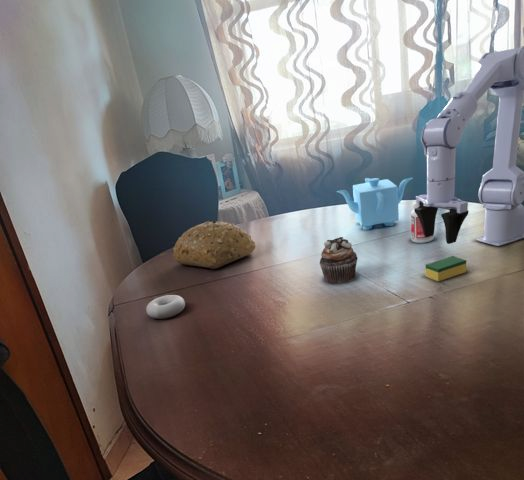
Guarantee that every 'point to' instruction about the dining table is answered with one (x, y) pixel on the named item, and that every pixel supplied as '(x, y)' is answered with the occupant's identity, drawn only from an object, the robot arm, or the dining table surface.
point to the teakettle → (375, 201)
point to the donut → (165, 306)
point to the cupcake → (338, 261)
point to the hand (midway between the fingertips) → (439, 239)
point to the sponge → (445, 268)
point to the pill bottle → (417, 228)
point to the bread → (212, 245)
